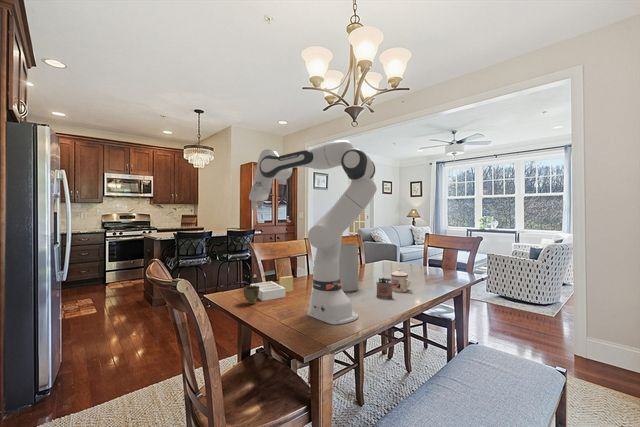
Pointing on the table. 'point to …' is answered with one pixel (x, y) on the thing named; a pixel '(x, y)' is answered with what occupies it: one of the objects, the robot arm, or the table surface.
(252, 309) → the table surface
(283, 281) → the panel
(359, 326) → the table surface
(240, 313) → the table surface
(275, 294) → the rack
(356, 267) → the cylinder vase
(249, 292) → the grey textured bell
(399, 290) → the teacup with lid
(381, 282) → the lighter
